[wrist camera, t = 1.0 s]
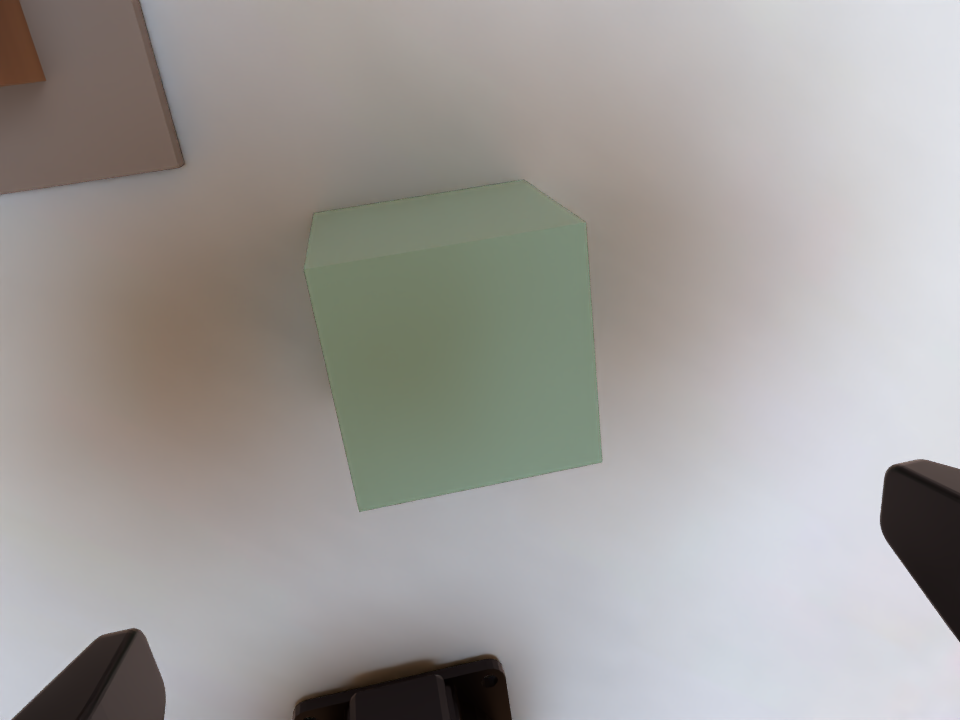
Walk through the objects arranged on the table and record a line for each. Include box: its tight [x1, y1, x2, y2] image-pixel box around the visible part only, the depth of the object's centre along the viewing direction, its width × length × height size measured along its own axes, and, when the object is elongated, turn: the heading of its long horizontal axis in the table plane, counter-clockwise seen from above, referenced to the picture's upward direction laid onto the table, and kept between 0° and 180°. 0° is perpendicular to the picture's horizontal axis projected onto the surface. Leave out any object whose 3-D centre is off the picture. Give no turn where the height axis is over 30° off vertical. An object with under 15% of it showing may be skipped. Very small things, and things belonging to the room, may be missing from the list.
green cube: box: [304, 180, 602, 512], centre depth 16 cm, size 5×5×5 cm
